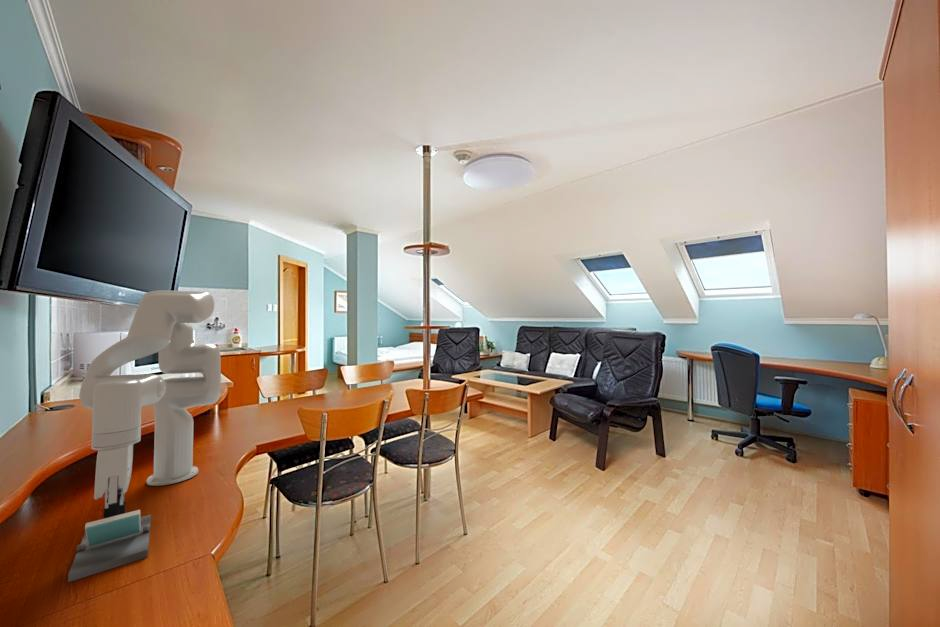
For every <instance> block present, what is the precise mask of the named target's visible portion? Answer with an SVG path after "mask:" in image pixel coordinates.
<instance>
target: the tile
mask: <svg viewBox="0 0 940 627" xmlns="http://www.w3.org/2000/svg"><path fill="white" fill-rule="evenodd" d="M140 517H141V509H136V510H134V511H129V512H126V513H124V514H120V515H117V516H113V517H109V518H105V519H104V518H101V519H98V520H93V521H90V522H86V523H85V526H84V530H85V531H84V532H86V537H87V542H88V546H89V547H90V546H93V545H97V544H100V543H104V542H107V541H111V540H114V539H118V538H121V537H125V536H129V535H132V534H136V533H139V532H140V531H141V518H140Z"/></svg>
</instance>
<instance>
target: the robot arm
mask: <svg viewBox="0 0 940 627" xmlns="http://www.w3.org/2000/svg"><path fill="white" fill-rule="evenodd" d="M214 309H215V301H214V297H213V296H212V295H211V293H209V292H206V291H194V290H193V291H192V290H191V291H190V290H189V291H187V290H168V289H167V290H166V289H165V290H164V289H163V290H162V289H160V290H151V291H148V292H146V293H144V294H143V296H142V298H141V299H140V301H139V302H138V304H137V308H136V310H135V313H134V315H133V319H132V321H131V324H130V327H129V329H128V333H127V335H126V337H125V338H123V339H121V340H119V341H117V342H115V343H114V344H112V345H109V347H108V348H106V349H105V350H103V351H101V353H99V354H98V355H97V356H96V357H95V358H94V359H93V360H92V361H91V363H90V364H89V366H88V368H87V370H86V373H85V375H84V378H83V380H82V383H81V385H80V389H79V394H78V398H79V403H80V404H81V405H82V406H83V407H84V408H86V409H89V410H92V412H91V413H92V416H91V421H92V422H91V444H90V445H91V450H92V451H97V455H96V463H95V476H94V477H95V478H94V479H95V480H94V495H93V499H94V500H97V501H98V500H99V499H101V498H103V495H104V507H103V519H105V518H109V517H113V516H117V515H120V514H124V513H127V511H126V508H127V506H126V504H127V501H126V500H125V498H126V492H128V489H129V485H130V483H131V482H130V481H131V477H132V470H133V460H134V459H133V458H134V445H135V444H137V443H139V442H141V438H142V432H141V431H142V407H145V406H146V407H147V406H151V405H153V412H154V444H153V445H154V447H153V448H154V449H153V474H150V475H149V476H148V477H147V479H146V485H148V486H155V487H159V486H160V487H161V486H167V485H168V486H169V485H173V484H177V483H181V482H184V481H186V480H188V479H191V478H193V477H195V476H197V474H198V473H199V468H198V466H196V465H195V466H194V465H193V464H194V463H193V462H194V459H193V458H194V454H193V453H194V447H193V446H194V425H195V424H194V422H195V421H194V418H193V416H192V414H191V413H190V412H189V411H188V410H187V409H186V408H189V407H200V406H210V405H214V404H216V403H217V402H218V401H219V399H220V397H221V390H222V389H221V388H222V384H221V383H222V382H221V380H222V374H221V372H222V371H221V369H222V367H221V366H222V365H221V364H222V360H221V358H222V357H221V351H220V349H219V347H218V346H217V345H215V344H212V343H194V328H193V327H192V325H191V324H197V323H203V322H204V321H205V320H207V319H208V318H210V317H211V316H212V314H213V312H214ZM190 323H191V324H190ZM157 353H158V368H159V370H160V372H162V373H163V374H169V375H171V374H172V375H175V374H176V375H179V374H180V375H181V374H198V373H199V374H202V376H184V377H183V376H181V377H170V378H165V379H164V378H163V377H162V376H161V375H159V374H156V373H155V374H153V373H142V374H141V373H140V374H138V373H137V374H117V375H114V374H113V375H111V374H112V373H114V372H115V371H116V370H118V369H119V368H120V367H123V366H124V365H126V364H128V363H131V362H133V361H136V360H139V359H143V358H145V357H149V356H151V355H154V354H157Z"/></svg>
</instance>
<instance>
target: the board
mask: <svg viewBox="0 0 940 627" xmlns="http://www.w3.org/2000/svg"><path fill="white" fill-rule="evenodd" d="M140 518H141V531H140V532H139V533H136V534H132V535H129V536H125V537H121V538H118V539H114V540H111V541H107V542H104V543H100V544H97V545H93V546H90V547H89V546H88V542H87V537H86V531H84V534H83V537H82V539H81V542H80V544H77V545H76V552H77V553H76V554H75V556H74V559H73V561H72V564H71V567H70V568H69V569H70V570H69V572H68V575H67V576H68V577H67V583H70V582H71V583H72V582H73V581H77V580H80V579H82V578H86V577H89V576H92V575H96V574H98V573H102V572H105V571H107V570H110V569H111V570H112V569H113V568H118V567H120V566H123V565H126V564H129V563H133V562H135V561H139V560H143V559H144V558H148V556H149V548H150V547H149V545H150V535H151V534H150V533H151V523H152V514H148V515H144V516H140Z"/></svg>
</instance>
